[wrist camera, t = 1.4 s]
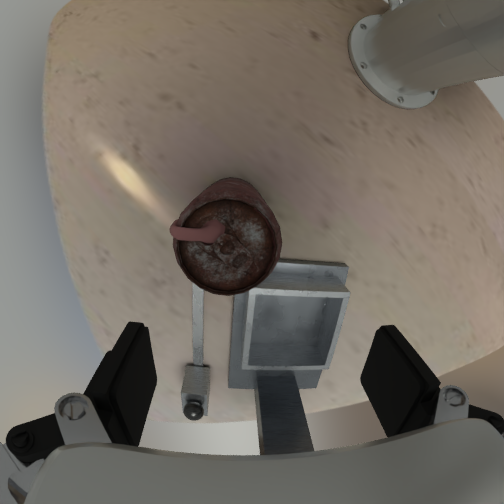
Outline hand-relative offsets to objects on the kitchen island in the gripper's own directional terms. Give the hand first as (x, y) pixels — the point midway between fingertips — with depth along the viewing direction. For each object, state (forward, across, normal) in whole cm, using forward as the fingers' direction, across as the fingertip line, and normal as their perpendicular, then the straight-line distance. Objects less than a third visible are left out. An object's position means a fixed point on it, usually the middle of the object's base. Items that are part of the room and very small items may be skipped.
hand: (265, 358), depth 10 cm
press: (+19, -5, +12) cm, 23 cm away
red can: (+20, +2, -3) cm, 20 cm away
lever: (+19, +6, +19) cm, 28 cm away
